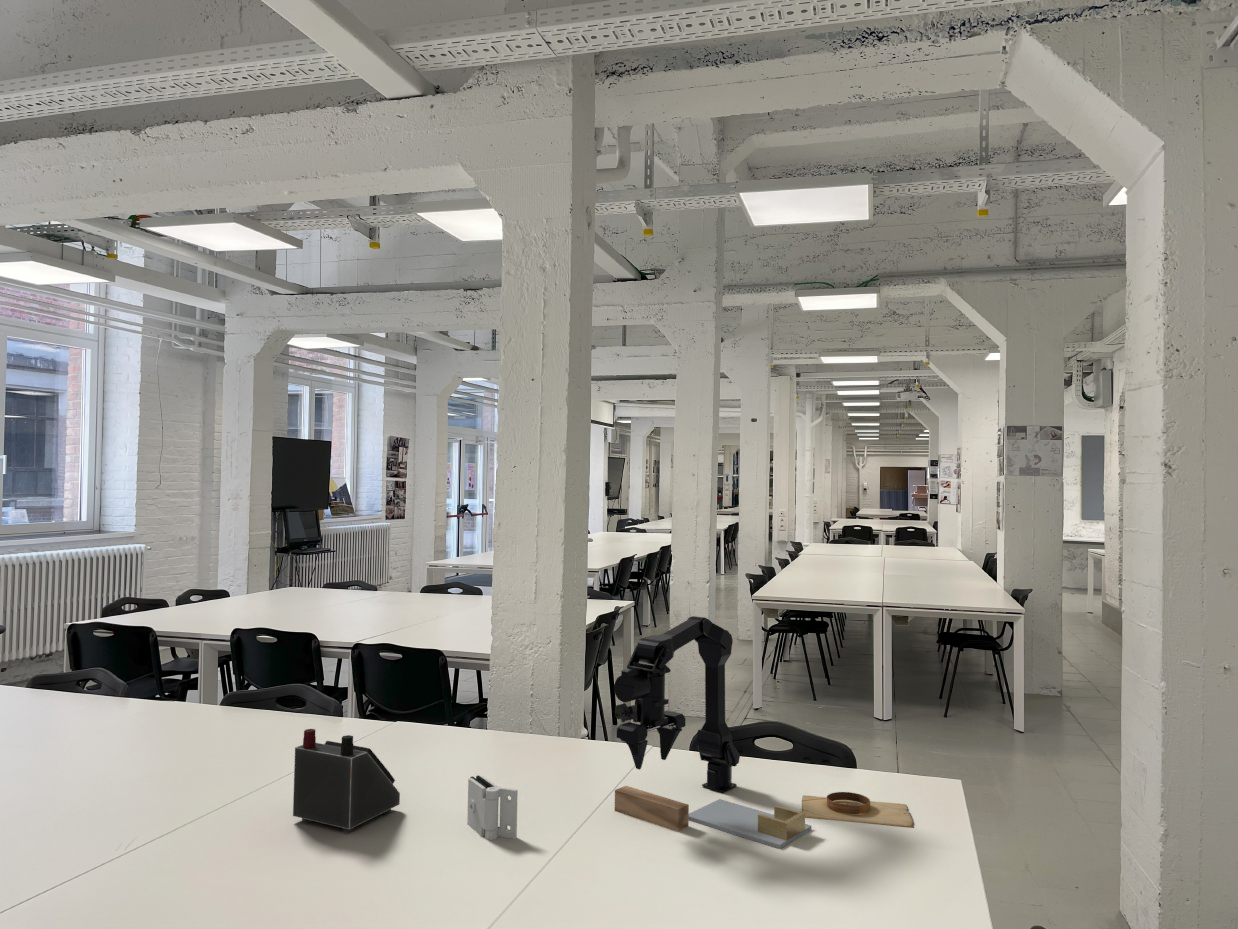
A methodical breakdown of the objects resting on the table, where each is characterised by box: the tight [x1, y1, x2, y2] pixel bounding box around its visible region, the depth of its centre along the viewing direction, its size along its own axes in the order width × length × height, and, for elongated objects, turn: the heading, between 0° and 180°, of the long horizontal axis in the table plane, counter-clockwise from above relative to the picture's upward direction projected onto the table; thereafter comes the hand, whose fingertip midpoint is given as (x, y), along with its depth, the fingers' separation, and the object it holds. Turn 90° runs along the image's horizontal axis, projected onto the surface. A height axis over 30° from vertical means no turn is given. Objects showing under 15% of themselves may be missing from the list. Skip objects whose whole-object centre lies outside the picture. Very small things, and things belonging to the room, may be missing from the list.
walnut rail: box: [614, 785, 690, 832], centre depth 188 cm, size 4×18×5 cm, turn 50°
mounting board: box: [689, 798, 812, 850], centre depth 186 cm, size 14×24×1 cm, turn 50°
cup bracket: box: [758, 805, 806, 841], centre depth 180 cm, size 8×7×4 cm
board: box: [801, 791, 915, 829], centre depth 195 cm, size 25×15×3 cm, turn 78°
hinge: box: [466, 774, 519, 840], centre depth 179 cm, size 14×5×10 cm, turn 46°
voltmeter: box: [292, 728, 401, 833], centre depth 187 cm, size 16×16×20 cm
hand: (651, 764), depth 189 cm, fingers open, 9 cm apart
